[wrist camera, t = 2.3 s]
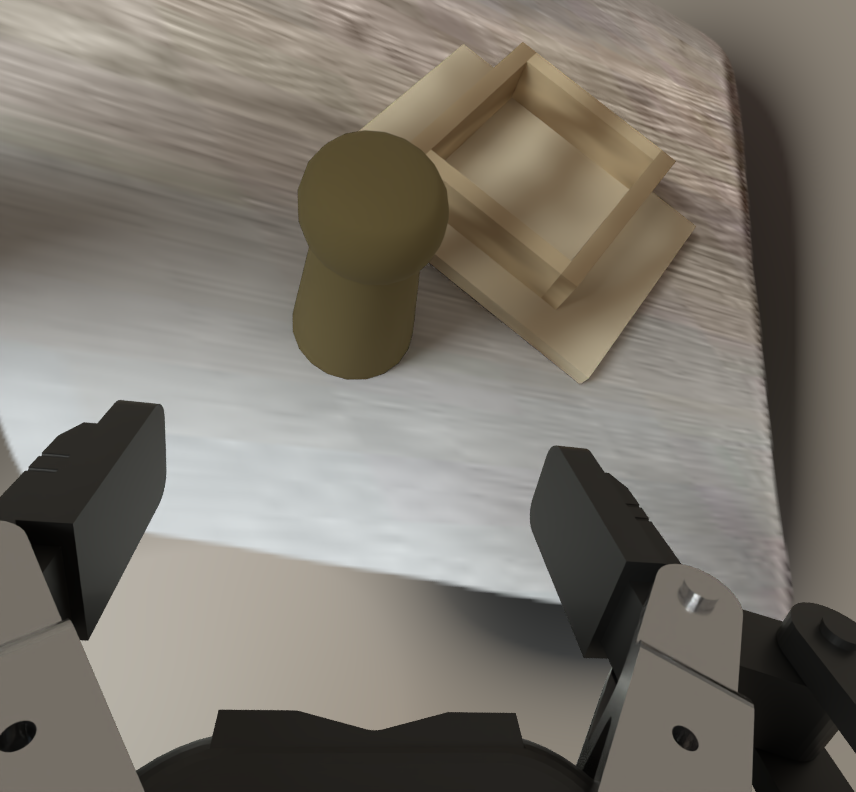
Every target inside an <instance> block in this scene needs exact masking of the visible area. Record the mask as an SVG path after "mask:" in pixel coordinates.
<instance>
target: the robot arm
mask: <svg viewBox="0 0 856 792" xmlns="http://www.w3.org/2000/svg"><path fill="white" fill-rule="evenodd" d="M165 482H166V444H165V416H164V409H163V407H162V405H161V404H154V403H144V402H134V401H124V400H118V401H116V402H115V403H114V405H113V406H112V407H111V408H110V409H109V410H108V412H107V413H106V414H105V415H104V416H103V417H102V419H101V420H100V421H99V422H98V423H97V424H96V423H85V422H84V423H82V424H80V425H78V426H76V427H74V428H72V429H70V430H68V431H66V432H64V433H62V434H60V435H58V436H57V437H56V438H55V440H54V441H53V442H52V443H51V444H50V445H49V446H48V447H47V448H46V449H45V450H44V451H43V452H42V456H38V458H37V459H36V460H35V461H34V462H33V463H32V464H31V465H30V466H29V469H28V471H24V472H23V473H22V474H21V476H20V477H19V478H18V479H17V480H16V481H15V482H14V483H13V484H12V485H11V486H10V487H9V488H8V489H7V490H6V491H5V492H4V494H3V495H2V496H1V497H0V792H751V791H752V785H753V787H754V789H755V791H756V792H854V790H853V789H852V787H851V786H850V785H849V783H848V782H847V780H846V779H845V777H844V776H843V774H842V773H841V771H840V770H839V768H838V767H837V765H836V764H835V762H834V761H833V760H832V758H831V757H830V755H829V754H828V752H827V751H826V749H825V748H824V747H825V746H826V745H827V744H828V742H829V741H830V740H831V739H832V737H833V736H834V735H835V734H836V732H837V731H838V730H839V731H840V732H841V734H842V735H843V736H844V738H845V739H846V741H847V742H848V743H849V745H850V746H851V747H852V749H853V750H854V752H855V753H856V623H855V622H854V621H852V620H851V619H849V618H848V617H846V616H844V615H842V614H841V613H839V612H837V611H835V610H833V609H830V608H828V607H825V606H822V605H819V604H814V603H798V604H796V605H794V606H793V607H792V608H791V610H790V612H789V613H788V615H787V616H786V618H785V619H784V621H783V622H782V621H779V620H775V619H772V618H769V617H766V616H762V615H759V614H756V613H752V612H749V611H746V610H743V609H742V607H741V605H740V603H739V601H738V599H737V598H736V597H735V595H734V594H733V593H732V592H731V591H730V590H729V589H728V588H727V587H726V586H725V585H724V584H723V583H721V582H720V581H719V580H717V579H716V578H714V577H713V576H711V575H709V574H707V573H705V572H704V571H701V570H699V569H697V568H694V567H691V566H687V565H682V564H681V563H680V561H679V560H678V559H677V557H676V556H675V554H674V553H673V551H672V550H671V549H670V547H669V546H668V544H667V543H666V542H665V540H664V539H663V537H662V536H661V535H660V533H659V532H658V530H657V529H656V528H655V526H654V525H653V523H652V522H650V521H649V518H648V516H647V515H646V513H645V512H644V511H643V509H642V508H639V504H638V502H637V501H636V499H635V498H634V497H633V495H632V494H631V492H630V491H629V489H628V488H627V487H626V486H624V485H623V484H622V483H621V482H619V481H618V480H617V479H616V478H614V477H613V476H612V475H611V474H609V473H604V471H603V470H602V468H601V467H600V465H599V464H598V462H597V461H596V459H595V458H594V456H593V455H592V453H591V452H590V451H589V450H588V449H584V448H574V447H565V446H553V447H551V448H550V450H549V452H548V454H547V456H546V459H545V463H544V466H543V469H542V472H541V475H540V478H539V481H538V484H537V487H536V490H535V493H534V496H533V499H532V503H531V508H530V524H531V529H532V532H533V535H534V537H535V540H536V542H537V544H538V547H539V549H540V552H541V554H542V557H543V559H544V562H545V564H546V567H547V569H548V571H549V574H550V576H551V579H552V581H553V584H554V586H555V589H556V591H557V594H558V596H559V598H560V601H561V603H562V606H563V608H564V611H565V613H566V616H567V618H568V621H569V623H570V625H571V628H572V630H573V633H574V635H575V638H576V640H577V642H578V645H579V647H580V650H581V652H582V654H583V657H584V658H608V659H609V662H610V664H611V666H612V668H611V670H610V672H609V674H608V676H607V678H606V681H605V684H604V686H603V689H602V693H601V695H600V698H599V701H598V704H597V707H596V710H595V712H594V716H593V719H592V721H591V725H590V727H589V730H588V733H587V736H586V739H585V742H584V744H583V747H582V750H581V753H580V756H579V759H578V761H577V764H576V766H575V765H574V764H573V763H571V762H570V761H568V760H567V759H565V758H564V757H562V756H560V755H559V754H557V753H555V752H553V751H551V750H549V749H548V748H546V747H543V746H541V745H539V744H536V743H534V742H531V741H529V740H525V739H522V736H521V732H520V728H519V724H518V721H517V716H516V713H467V712H466V713H464V712H447V713H443V714H440V715H436V716H432V717H428V718H424V719H421V720H417V721H413V722H409V723H406V724H402V725H398V726H394V727H390V728H386V729H383V730H378V731H377V730H375V731H374V730H366V729H363V728H359V727H356V726H352V725H348V724H344V723H341V722H337V721H334V720H330V719H326V718H323V717H319V716H315V715H311V714H308V713H304V712H300V711H289V710H286V711H285V710H219V711H218V715H217V719H216V723H215V728H214V732H213V736H212V737H208V738H204V739H200V740H197V741H194V742H191V743H189V744H186V745H183V746H180V747H178V748H176V749H174V750H172V751H170V752H168V753H166V754H164V755H162V756H160V757H157V758H156V759H154V760H153V761H151V762H149V763H148V764H146V765H145V766H143V767H141V768H140V769H138V770H135V768H134V766H133V763H132V761H131V759H130V756H129V754H128V752H127V749H126V747H125V745H124V743H123V740H122V738H121V735H120V733H119V731H118V728H117V726H116V724H115V721H114V719H113V717H112V714H111V712H110V710H109V707H108V705H107V703H106V700H105V698H104V696H103V693H102V691H101V689H100V686H99V684H98V681H97V679H96V677H95V675H94V672H93V670H92V667H91V665H90V663H89V660H88V658H87V656H86V653H85V651H84V649H83V646H82V644H81V642H80V640H89V638H90V636H91V634H92V632H93V630H94V628H95V626H96V624H97V623H98V621H99V619H100V617H101V615H102V613H103V611H104V609H105V607H106V605H107V603H108V601H109V599H110V597H111V596H112V594H113V592H114V590H115V588H116V586H117V584H118V582H119V580H120V578H121V576H122V574H123V573H124V571H125V569H126V567H127V565H128V563H129V561H130V559H131V557H132V555H133V553H134V551H135V550H136V547H137V546H138V544H139V542H140V540H141V538H142V536H143V534H144V532H145V530H146V528H147V526H148V525H149V523H150V521H151V519H152V517H153V515H154V513H155V511H156V509H157V507H158V505H159V503H160V501H161V498H162V495H163V492H164V488H165Z"/></svg>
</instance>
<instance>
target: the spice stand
mask: <svg viewBox="0 0 856 792" xmlns="http://www.w3.org/2000/svg"><path fill="white" fill-rule="evenodd" d="M363 130H368V131H380V132H387V133H390V134H392V135H395V136H398V137H401V138H404V139H406V140H407V141H409V142H410V143H412V144H413V145H415V146H417V147H418V148H420V149H421V150H422V151H423V152H424V153H425V154H426V155H427V156H428V158H429V159H430V160H431V161H432V162H433V163H434V164H435V166H436V168H437V170H438V172H439V174H440V176H441V178H442V180H443V182H444V184H445V187H446V189H447V195H448V204H449V220H448V224H447V228H446V232H445V236H444V239H443V241H442V243H441V246H440V248H439V249H438V250H437V252H436V253H435V255H434V256H433V257H432V259H431V260H430V261H429V263H430V264H431V265H433V266H434V267H435V268H436V269H438V270H439V271H440V272H441V273H443V274H444V275H445V276H446V277H448V278H449V279H450V280H451V281H452V282H454V283H455V284H456V285H457V286H459V287H460V288H461V289H462V290H464V291H465V292H466V293H467V294H469V295H470V296H471V297H472V298H474V299H475V300H476V301H477V302H479V303H480V304H481V305H482V306H484V307H485V308H486V309H487V310H488V311H490V312H491V313H492V314H493V315H495V316H496V317H497V318H498V319H500V320H501V321H502V322H503V323H505V324H506V325H507V326H508V327H510V328H511V329H512V330H513V331H515V332H516V333H517V334H518V335H519V336H521V337H522V338H523V339H524V340H526V341H527V342H528V343H529V344H531V345H532V346H533V347H534V348H536V349H537V350H538V351H539V352H541V353H542V354H543V355H544V356H546V357H547V358H548V359H549V360H551V361H552V362H553V363H554V364H555V365H557V366H558V367H559V368H560V369H562V370H563V371H564V372H565V373H567V374H568V375H569V376H570V377H572V378H573V379H574V380H575V381H577V382H578V383H579V384H581V383H583V382H584V381H585V380H587V379H588V378H589V377H590V376H591V374H592V373H593V372H594V370H595V369H596V367H597V366H598V364H599V363H600V362H601V360H602V359H603V357H604V356H605V355H606V353H607V352H608V350H609V349H610V347H611V346H612V345H613V343H614V342H615V340H616V339H617V338H618V336H619V335H620V333H621V332H622V331H623V329H624V328H625V326H626V325H627V323H628V322H629V321H630V319H631V318H632V316H633V315H634V314H635V312H636V311H637V309H638V308H639V306H640V305H641V304H642V302H643V301H644V299H645V298H646V297H647V295H648V294H649V292H650V291H651V289H652V288H653V287H654V285H655V284H656V282H657V281H658V280H659V278H660V277H661V275H662V274H663V272H664V271H665V270H666V268H667V267H668V265H669V264H670V263H671V261H672V260H673V258H674V257H675V255H676V254H677V253H678V251H679V250H680V248H681V247H682V246H683V244H684V243H685V241H686V240H687V239H688V237H689V236H690V234H691V233H692V231H693V230H694V229H695V227H696V226H695V225H694V224H692V223H691V222H690V221H689V220H687V219H686V218H685V217H684V216H682V215H681V214H680V213H678V212H677V211H676V210H675V209H673V208H672V207H671V206H669V205H668V204H667V203H666V202H664V201H663V200H662V199H661V198H659V197H658V196H657V195H655V194H654V193H653V192H652V191H653V190H654V188H655V187H656V186H657V185H658V183H659V182H660V181H661V180H662V178H663V177H664V176H665V174H666V173H667V172H668V171H669V169H670V168H671V167H672V165H673V164H674V163H675V162H676V161H675V160H674V159H672V158H671V157H670V156H669V155H667V154H666V153H665V152H663V151H662V150H661V149H660V148H658V147H657V146H656V145H654V144H653V143H652V142H651V141H649V140H648V139H647V138H645V137H644V136H643V135H642V134H640V133H639V132H638V131H636V130H635V129H634V128H633V127H631V126H630V125H629V124H627V123H626V122H625V121H624V120H622V119H621V118H620V117H618V116H617V115H616V114H615V113H613V112H612V111H611V110H609V109H608V108H607V107H606V106H604V105H603V104H602V103H600V102H599V101H598V100H597V99H595V98H594V97H593V96H591V95H590V94H589V93H588V92H586V91H585V90H584V89H582V88H581V87H580V86H579V85H577V84H576V83H575V82H573V81H572V80H571V79H570V78H568V77H567V76H566V75H564V74H563V73H562V72H561V71H559V70H558V69H557V68H556V67H554V66H553V65H552V64H550V63H549V62H548V61H547V60H545V59H544V58H543V57H541V56H540V55H539V54H538V53H536V52H535V51H534V50H532V49H531V48H530V47H529V46H527V45H526V44H525V43H523V42H522V43H521V44H520V45H519V46H518V47H517V48H515V49H514V50H513V51H512V52H511V53H510V54H509V55H508V56H506V57H505V58H504V59H503V60H502V61H501V62H500V63H499V64H497V65H496V66H495V67H494V68H493V67H492V66H491V65H489V64H488V63H487V62H486V61H484V60H483V59H482V58H480V57H479V56H478V55H477V54H475V53H474V52H473V51H472V50H470V49H469V48H468V47H466V46H465V45H464V44H463V45H462V46H461V47H459V48H458V49H457V50H456V51H455V52H453V53H452V54H451V55H450V56H449V57H447V58H446V59H445V60H444V61H443V62H441V63H440V64H439V65H438V66H437V67H435V68H434V69H433V70H432V71H431V72H429V73H428V74H427V75H426V76H425V77H423V78H422V79H421V80H420V81H419V82H417V83H416V84H415V85H414V86H413V87H411V88H410V89H409V90H408V91H407V92H405V93H404V94H403V95H402V96H401V97H399V98H398V99H397V100H396V101H395V102H393V103H392V104H391V105H390V106H388V107H387V108H386V109H385V110H384V111H382V112H381V113H380V114H379V115H378V116H376V117H375V118H374V119H373V120H372V121H370V122H369V123H368V124H367V125H366V126H364V127H363V128H362V129H361V130H360V131H363Z"/></svg>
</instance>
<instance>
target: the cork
mask: <svg viewBox="0 0 856 792" xmlns="http://www.w3.org/2000/svg"><path fill="white" fill-rule="evenodd" d="M298 217H299V223H300V226H301V228H302V231H303V233H304V236H305V238H306V241H307V243H308V245H309V250H308V254H307V258H306V262H305V266H304V270H303V274H302V278H301V282H300V286H299V290H298V294H297V298H296V302H295V307H294V311H293V333H294V336H295V339H296V341H297V344H298V346H299V349H300V350H301V351H302V353H303V354H304V355H305V356H306V357H307V359H308V360H309V361H310V362H311V363H312V364H313V365H315V366H316V367H318V368H319V369H321V370H322V371H324V372H326V373H327V374H330V375H333V376H337V377H340V378H344V379H368V378H371V377H374V376H378V375H381V374H384V373H385V372H387V371H388V370H389V369H391V368H392V367H394V366H395V365H396V364H398V363H399V361H400V360H401V359H402V357H403V356H404V354H405V353H406V351H407V350H408V348H409V344H410V341H411V337H412V333H413V326H414V317H415V308H416V300H417V291H418V282H419V274H420V270H421V269H422V268H423V267H425V266H426V265H427V264H428V263H429V261H430V260H431V259H432V257H433V256H434V255H435V253H436V252H437V250H438V249H439V248H440V246H441V243H442V241H443V239H444V236H445V232H446V228H447V224H448V220H449V204H448V195H447V189H446V187H445V184H444V182H443V180H442V178H441V176H440V174H439V172H438V170H437V168H436V166H435V164H434V163H433V162H432V161H431V160H430V159H429V158H428V156H427V155H426V154H425V153H424V152H423V151H422V150H421V149H420V148H418V147H417V146H415V145H413V144H412V143H410V142H409V141H407V140H406V139H404V138H401V137H398V136H395V135H392V134H390V133H387V132H380V131H368V130H363V131H357V132H352V133H346V134H344V135H342V136H340V137H338V138H336V139H334V140H332V141H330V142H328V143H327V144H326V145H324V146H323V147H322V148H321V149H320V150H319V151H318V152H317V153H316V154H315V155H314V156H313V158H312V159H311V160H310V161H309V162H308V165H307V167H306V170H305V172H304V175H303V178H302V180H301V183H300V185H299V188H298Z"/></svg>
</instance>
